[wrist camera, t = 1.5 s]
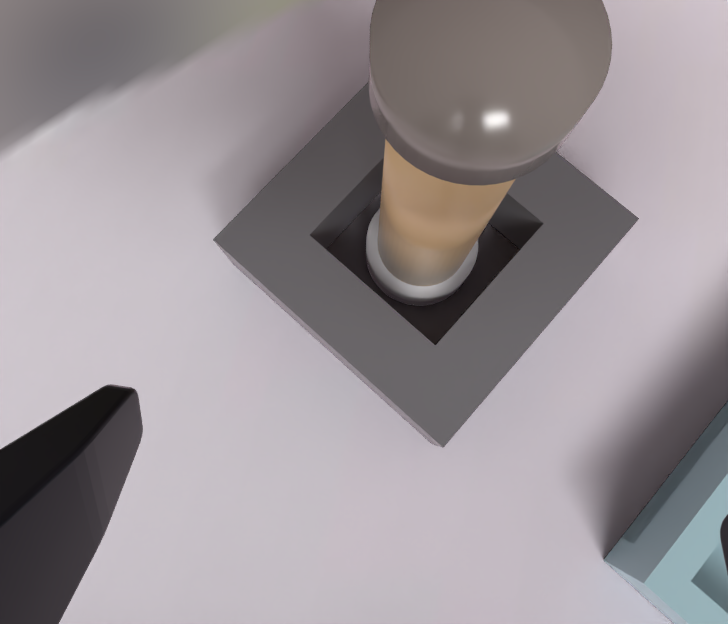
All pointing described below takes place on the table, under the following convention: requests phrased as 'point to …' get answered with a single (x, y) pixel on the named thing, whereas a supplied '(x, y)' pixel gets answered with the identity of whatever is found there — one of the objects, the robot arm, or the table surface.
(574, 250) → the socket block
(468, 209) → the fuse
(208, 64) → the table surface
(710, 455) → the parts tray
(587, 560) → the table surface
